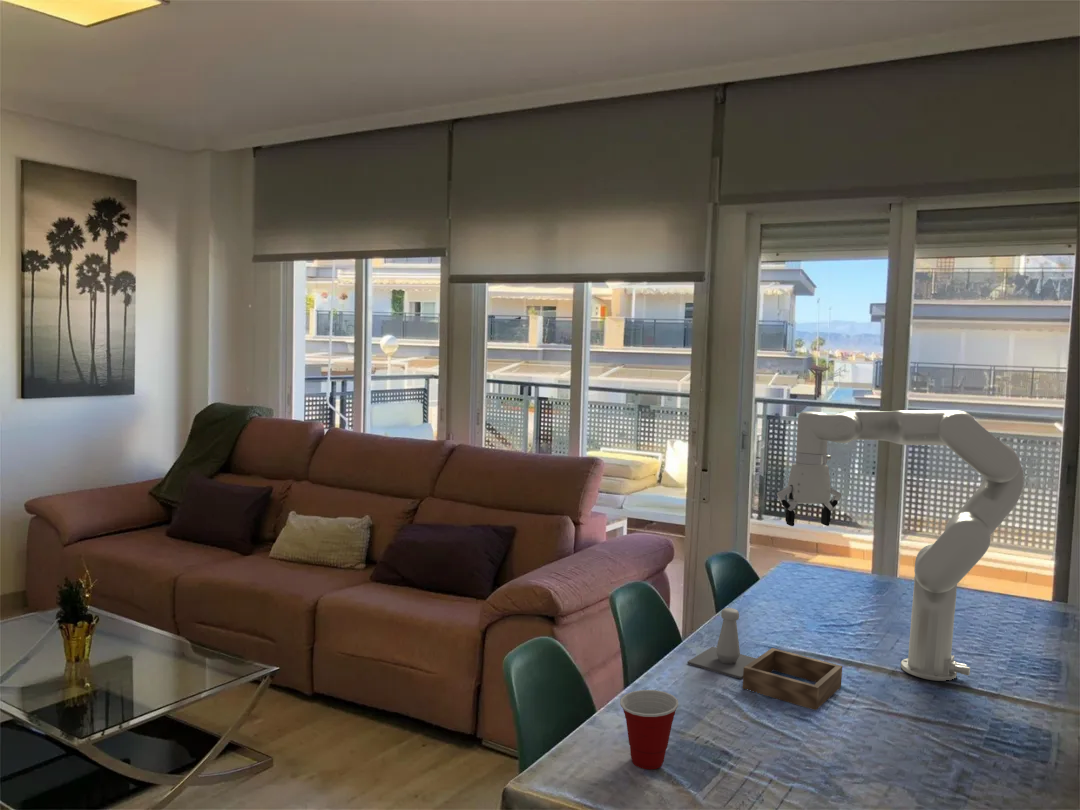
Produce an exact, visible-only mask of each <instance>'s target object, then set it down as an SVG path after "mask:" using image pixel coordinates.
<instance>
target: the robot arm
mask: <svg viewBox="0 0 1080 810" xmlns="http://www.w3.org/2000/svg"><path fill="white" fill-rule="evenodd" d="M796 431H797V432H796V452H795V463H792V464H791V467H790V472H789V476H788V482H787V487H786V488H783V489H781V490H780V491H777V493H776V496H777V498H778V500H779V503H780V505H781V506H783V508H784V509H785V519H784V520H785V523H786V525H787V526H790V527H794V526H795V522H796V521H795V516H796V511H795V510H794V509H795V507H797V506H798V504H800V505H801V504H802V505H803V504H806V505H807V504H808V505H809V504H811V505H815V504H816V505H817V504H818V505H819V504H820V505H822V507H823V508H821V513H820V514H821V518H820V524H822V525H823V526H826V527H830V522H831V517H832V511H834V508H835V507H836V506H837V505H838V503H839V501H840V499H841V497H842V493H841V492H839V491H837V490H835V489H834V488H832V487H831V475H830V468H829V465H827V464H828V461H831V460H832V456H831V455H829V454H828V442H833V443H838V444H848V443H850V442H852V441H881V442H882V441H884V442H890V443H893V444H896V445H905V446H946V447H948V448H949V449H950V450H951V451H953V453H954V454H956V455H957V456H958V458H961V459H962V460H963V462H965V463H966V464H968V465H969V466H970V467H971V468H973V469H974V470H975V471H976V472H977V473H978V474H979V475H981V476H982V477H983V478H982V482H981V484H980V486H979V487H978V488H977V489H976V491H975V492H974V493H973V495H971V497H970V498H969V499H968V500H967V502H966V503H964V505H963V506H962V507H961V508H960V509H959V510H958V511H957V513H955V515H952V517H951V518H950V519H949V520H948V522H947V523H946V525H945V529H944V531H943V532H942V534H940V536H939V537H938V538H937V539H936V541H935V542H934V543H932V544H928V545H926V546H924V547H922V548H921V549H920V550H919V551H918V553H917V554H916V556H915V561H914V579H913V581H914V582H913V593H912V604H911V605H912V606H911V617H910V631H909V641H908V642H909V643H908V655H907V658H904V659H902V660H901V661H900V668H901V669H902V671H904V672H906V673H907V674H909V675H912V676H915V677H916V678H921V679H924V680H930V681H936V682H947V681H946V680H949V681H952V679H953V680H954V678H955V679H956V678H957V677H956V676H958V675H957V673H958V674H961V675H963V676H964V675H965V676H969V677H970V673H971V667H969V666H967V664H965V663H960V662H957V661H956V660H955V655H952V653H953V652H952V651H953V650H952V648H953V636H954V627H955V625H954V623H955V613H956V603H957V602H956V601H957V592H958V591H957V588H958V584H959V583H960V581H962V580H963V578H964V577H965V576H966V575H968V573H969V572H970V571H971V570H972V569H973V568H974V567H975V565H977V563H978V562H980V561H981V559H982V558H983V557H984V555H985V554H986V553H987V551H988V550H989V548H990V545H991V536H992V534H993V533H994V532H995V530H997V528H998V527H999V526H1000V525H1001V524H1002V523H1003V521H1005V519H1006V518H1007V516H1008V515H1009V514H1010V513H1011V512H1012V510H1013V509H1014V508H1015V506H1016V505H1017V504H1018V502H1019V499H1020V498H1021V495H1022V494H1023V493H1022V492H1023V489H1024V488H1023V487H1024V471H1023V467H1022V464H1021V462H1020V458H1019V456H1018V454H1017V453H1016V451H1015V449H1014V448H1012V447H1011V446H1010V445H1008V444H1006V443H1004V442H1003V441H1001V440H999V439H998V438H997V437H996V436H995V435H993V434H992V433H990V432H989V430H987V429H986V428H984V427H983V425H981V424H980V423H979V422H978V421H977V420H976V419H975V417H974V416H973V415H972V414H970V413H969V412H967V411H965V410H957V409H956V410H951V409H949V410H944V409H943V410H941V409H939V410H891V411H890V410H889V411H888V410H887V411H884V410H883V411H880V410H879V411H876V410H875V411H869V410H867V411H861V410H860V411H855V410H854V411H841V412H838V413H835V414H833V413H832V414H827V413H825V412H820V411H802V412H800V413H799V414H798V417H797V429H796ZM831 495H832V498H831ZM786 498H787V500H786Z"/></svg>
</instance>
